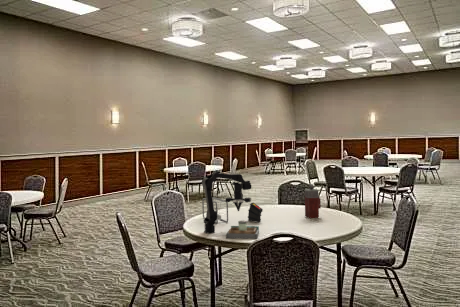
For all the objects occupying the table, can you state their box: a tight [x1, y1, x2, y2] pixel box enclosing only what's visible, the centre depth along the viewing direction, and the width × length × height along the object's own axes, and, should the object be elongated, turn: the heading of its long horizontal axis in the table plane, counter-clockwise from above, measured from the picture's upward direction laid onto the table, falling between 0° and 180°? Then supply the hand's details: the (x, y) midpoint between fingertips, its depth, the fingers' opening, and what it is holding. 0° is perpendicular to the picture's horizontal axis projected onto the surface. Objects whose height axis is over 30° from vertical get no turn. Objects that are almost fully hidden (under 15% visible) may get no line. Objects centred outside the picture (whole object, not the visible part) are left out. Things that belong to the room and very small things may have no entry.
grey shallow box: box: [225, 228, 260, 240], centre depth 277 cm, size 21×14×3 cm, turn 80°
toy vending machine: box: [304, 183, 322, 219], centre depth 337 cm, size 9×11×28 cm
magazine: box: [247, 202, 264, 223], centre depth 325 cm, size 4×13×15 cm, turn 47°
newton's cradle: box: [201, 196, 229, 225], centre depth 333 cm, size 30×10×18 cm, turn 26°
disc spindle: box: [237, 220, 248, 231], centre depth 277 cm, size 6×6×9 cm
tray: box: [228, 225, 260, 234], centre depth 280 cm, size 20×16×4 cm
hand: (238, 211), depth 301 cm, fingers closed
